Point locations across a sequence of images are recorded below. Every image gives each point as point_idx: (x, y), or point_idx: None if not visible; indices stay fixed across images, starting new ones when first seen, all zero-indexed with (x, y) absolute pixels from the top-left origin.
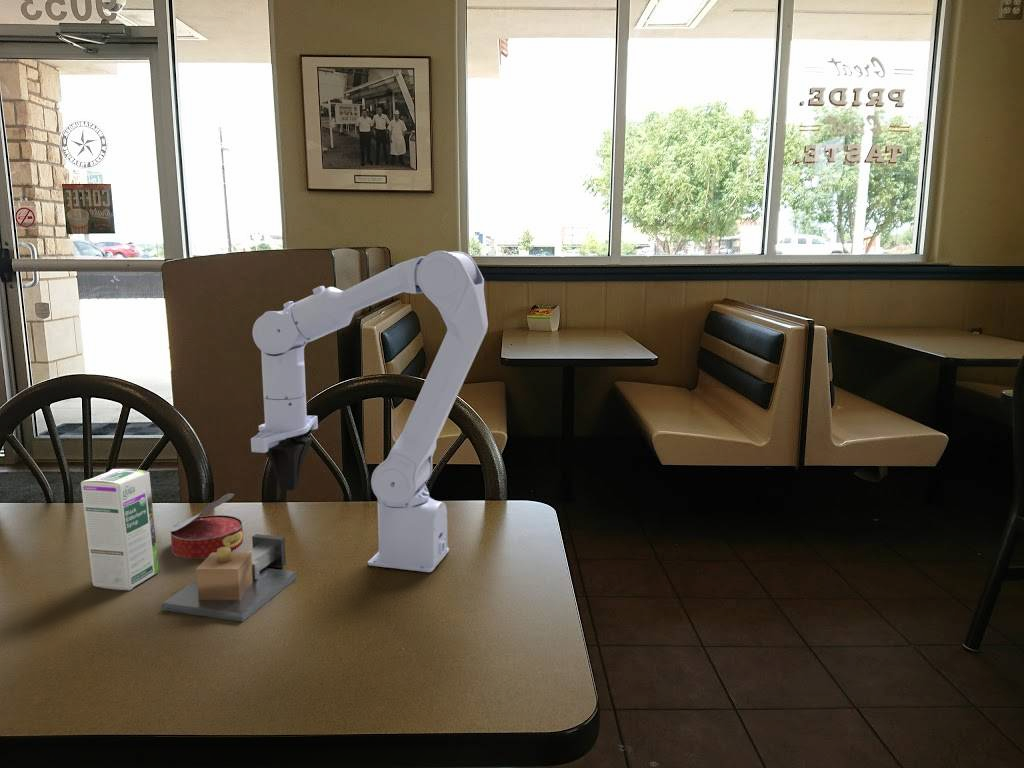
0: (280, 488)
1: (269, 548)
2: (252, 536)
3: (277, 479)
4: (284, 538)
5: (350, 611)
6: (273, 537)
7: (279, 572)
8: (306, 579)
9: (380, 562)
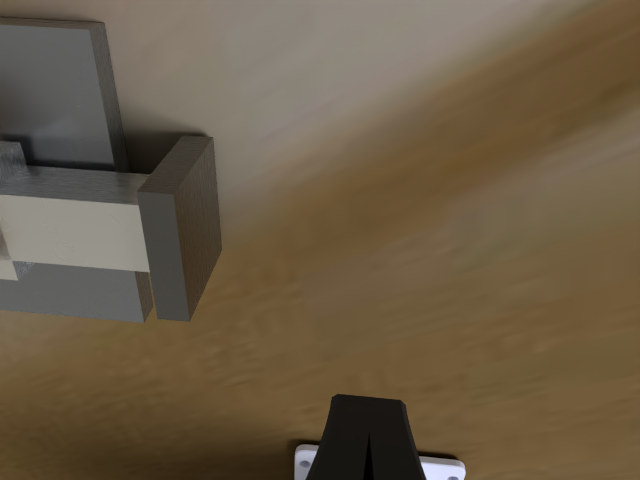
0: (335, 397)
1: (135, 265)
2: (139, 192)
3: (321, 447)
4: (190, 316)
5: (63, 457)
6: (167, 283)
7: (117, 282)
8: (163, 332)
9: (304, 474)
